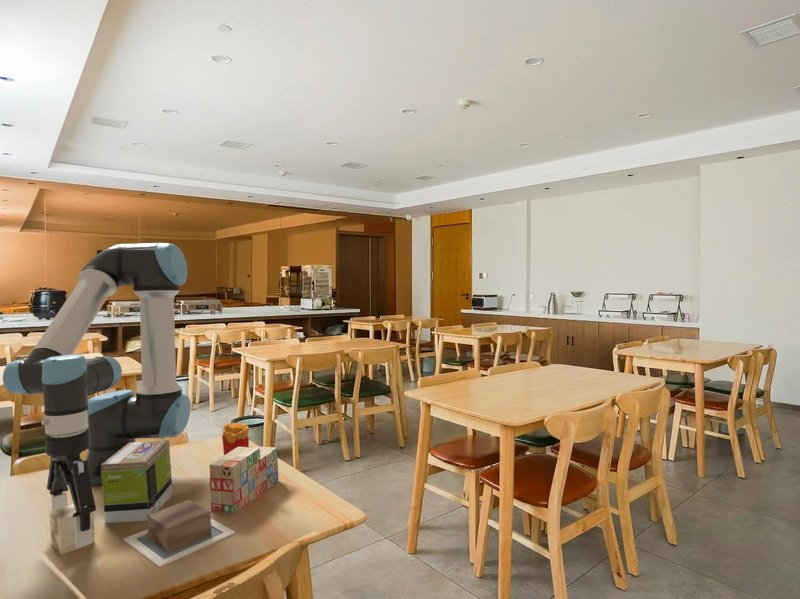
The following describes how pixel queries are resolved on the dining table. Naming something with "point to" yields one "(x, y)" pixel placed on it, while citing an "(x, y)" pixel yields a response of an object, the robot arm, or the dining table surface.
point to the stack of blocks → (242, 477)
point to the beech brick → (65, 529)
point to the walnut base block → (179, 525)
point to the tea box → (136, 481)
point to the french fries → (235, 436)
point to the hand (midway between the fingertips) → (71, 535)
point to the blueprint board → (164, 558)
